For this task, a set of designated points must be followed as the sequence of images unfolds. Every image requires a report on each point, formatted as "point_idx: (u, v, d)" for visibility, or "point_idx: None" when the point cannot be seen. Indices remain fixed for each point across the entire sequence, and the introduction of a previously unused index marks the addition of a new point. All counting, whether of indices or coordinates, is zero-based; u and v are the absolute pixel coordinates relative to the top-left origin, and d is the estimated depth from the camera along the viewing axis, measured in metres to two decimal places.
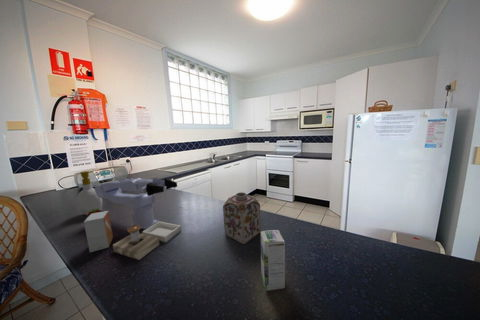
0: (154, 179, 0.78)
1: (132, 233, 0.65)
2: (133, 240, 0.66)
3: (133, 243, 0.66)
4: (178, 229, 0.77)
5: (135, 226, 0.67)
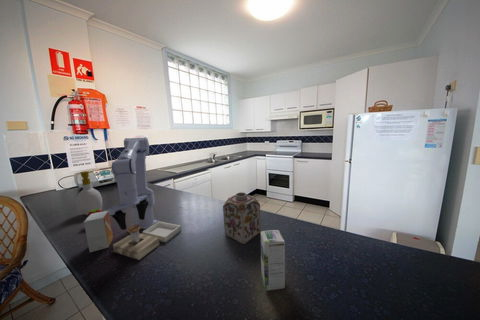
0: (134, 204, 0.63)
1: (132, 233, 0.65)
2: (133, 240, 0.66)
3: (133, 243, 0.66)
4: (178, 229, 0.77)
5: (135, 226, 0.67)
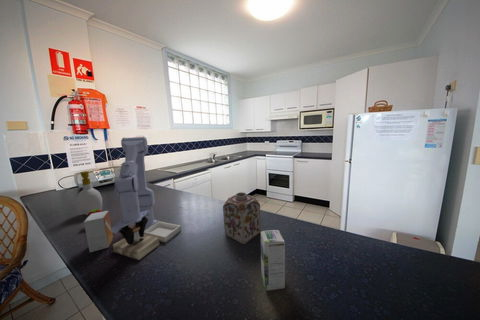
0: None
1: (132, 233, 0.65)
2: (133, 240, 0.66)
3: (133, 243, 0.66)
4: (178, 229, 0.77)
5: (135, 226, 0.67)
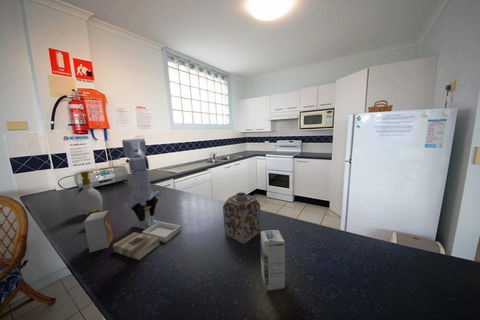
0: (148, 199, 0.68)
1: None
2: (144, 218, 0.69)
3: (144, 221, 0.69)
4: (178, 229, 0.77)
5: (146, 205, 0.71)
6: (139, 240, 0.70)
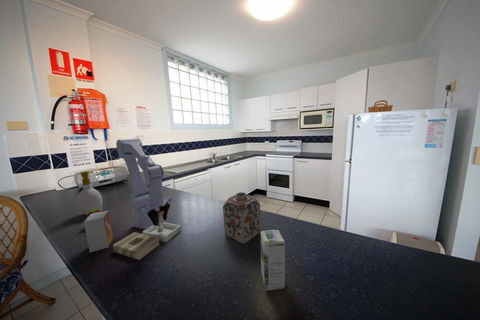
0: (162, 205, 0.73)
1: None
2: (158, 223, 0.74)
3: (158, 225, 0.74)
4: (178, 229, 0.77)
5: (160, 210, 0.76)
6: (139, 240, 0.70)
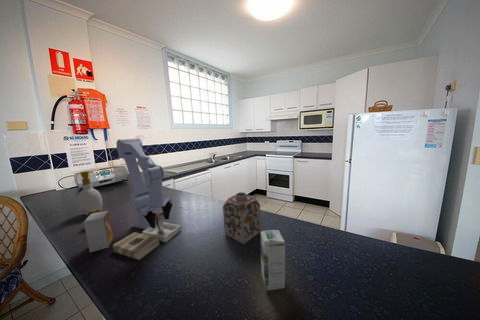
0: None
1: (157, 220, 0.74)
2: (158, 226, 0.74)
3: (158, 229, 0.74)
4: (178, 229, 0.77)
5: (159, 214, 0.75)
6: (139, 240, 0.70)
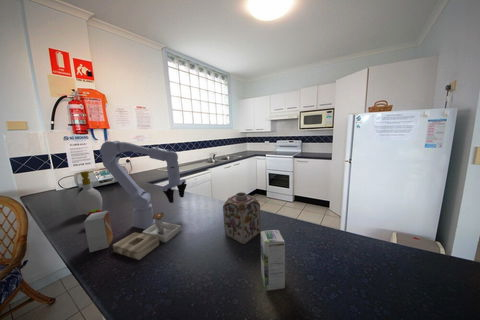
0: (179, 184, 0.86)
1: (157, 220, 0.74)
2: (158, 226, 0.74)
3: (158, 229, 0.74)
4: (178, 229, 0.77)
5: (159, 214, 0.75)
6: (139, 240, 0.70)
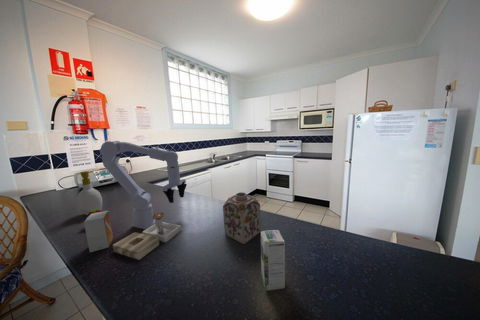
0: (179, 184, 0.86)
1: (157, 220, 0.74)
2: (158, 226, 0.74)
3: (158, 229, 0.74)
4: (178, 229, 0.77)
5: (159, 214, 0.75)
6: (139, 240, 0.70)
